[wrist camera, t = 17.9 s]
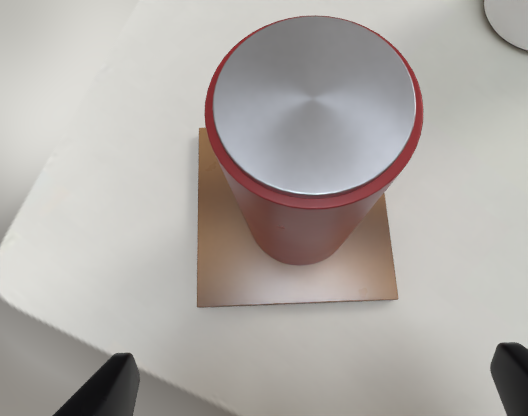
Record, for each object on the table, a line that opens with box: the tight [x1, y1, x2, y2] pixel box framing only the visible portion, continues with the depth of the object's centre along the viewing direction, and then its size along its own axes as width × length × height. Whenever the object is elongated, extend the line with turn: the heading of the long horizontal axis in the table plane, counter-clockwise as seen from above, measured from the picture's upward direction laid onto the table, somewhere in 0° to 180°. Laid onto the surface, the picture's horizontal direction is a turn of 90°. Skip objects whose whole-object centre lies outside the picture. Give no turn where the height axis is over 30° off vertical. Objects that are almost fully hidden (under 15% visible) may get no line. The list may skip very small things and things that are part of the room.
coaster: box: [197, 128, 398, 307], centre depth 24 cm, size 12×12×1 cm
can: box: [205, 16, 423, 266], centre depth 17 cm, size 6×6×13 cm
